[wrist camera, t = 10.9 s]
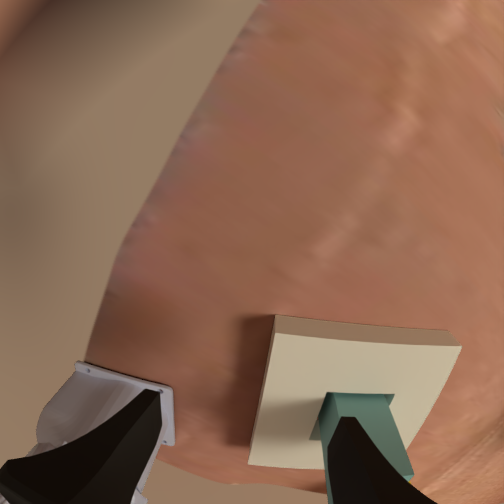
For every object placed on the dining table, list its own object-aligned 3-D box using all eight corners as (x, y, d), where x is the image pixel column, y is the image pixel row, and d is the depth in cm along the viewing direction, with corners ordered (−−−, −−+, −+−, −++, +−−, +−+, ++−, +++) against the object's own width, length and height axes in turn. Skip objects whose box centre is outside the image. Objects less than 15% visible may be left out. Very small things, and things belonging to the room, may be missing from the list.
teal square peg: (317, 411, 23) (329, 511, 13) (329, 375, 22) (351, 480, 12) (361, 412, 23) (386, 506, 13) (377, 377, 22) (414, 474, 12)
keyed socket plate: (249, 444, 25) (247, 464, 22) (275, 314, 21) (275, 332, 18) (389, 448, 24) (394, 465, 22) (448, 330, 20) (462, 346, 18)
